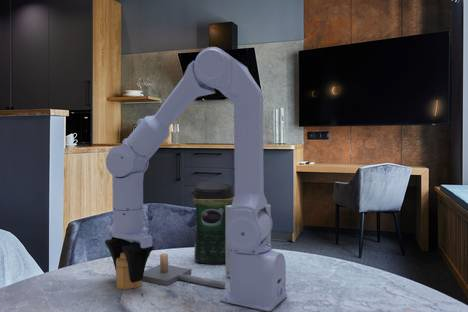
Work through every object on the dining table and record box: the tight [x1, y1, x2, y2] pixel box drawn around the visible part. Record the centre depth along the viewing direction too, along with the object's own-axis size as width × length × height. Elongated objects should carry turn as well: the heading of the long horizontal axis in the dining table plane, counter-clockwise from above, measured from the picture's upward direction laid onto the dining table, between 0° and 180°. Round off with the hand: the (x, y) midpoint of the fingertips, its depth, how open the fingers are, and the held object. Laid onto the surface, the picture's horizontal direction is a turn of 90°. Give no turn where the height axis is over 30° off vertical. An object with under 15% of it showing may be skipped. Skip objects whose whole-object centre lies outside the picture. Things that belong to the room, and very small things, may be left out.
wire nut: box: [115, 252, 143, 290], centre depth 77 cm, size 5×5×6 cm
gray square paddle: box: [142, 253, 226, 289], centre depth 79 cm, size 19×8×4 cm, turn 61°
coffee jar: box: [192, 181, 235, 265], centre depth 93 cm, size 10×8×19 cm
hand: (129, 277), depth 77 cm, fingers closed on wire nut, 5 cm apart
